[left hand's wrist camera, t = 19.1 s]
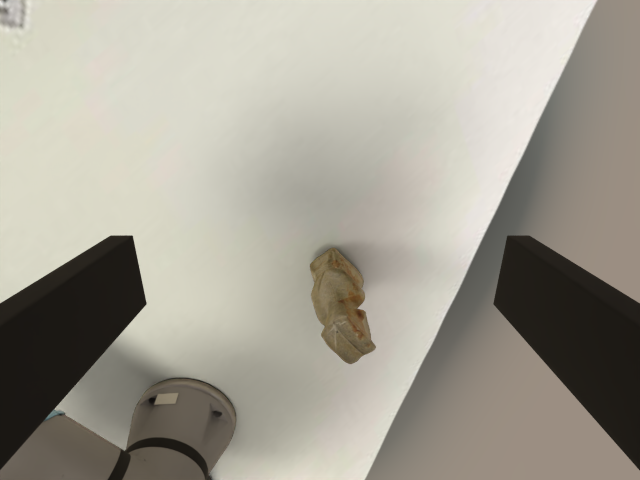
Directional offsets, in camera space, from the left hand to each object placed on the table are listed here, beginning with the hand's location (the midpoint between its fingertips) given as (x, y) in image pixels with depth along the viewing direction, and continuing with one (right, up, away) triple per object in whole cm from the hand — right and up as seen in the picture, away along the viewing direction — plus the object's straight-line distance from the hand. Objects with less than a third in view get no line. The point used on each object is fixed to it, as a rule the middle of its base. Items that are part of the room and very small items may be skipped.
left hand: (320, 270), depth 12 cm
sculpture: (+2, -3, +34) cm, 34 cm away
